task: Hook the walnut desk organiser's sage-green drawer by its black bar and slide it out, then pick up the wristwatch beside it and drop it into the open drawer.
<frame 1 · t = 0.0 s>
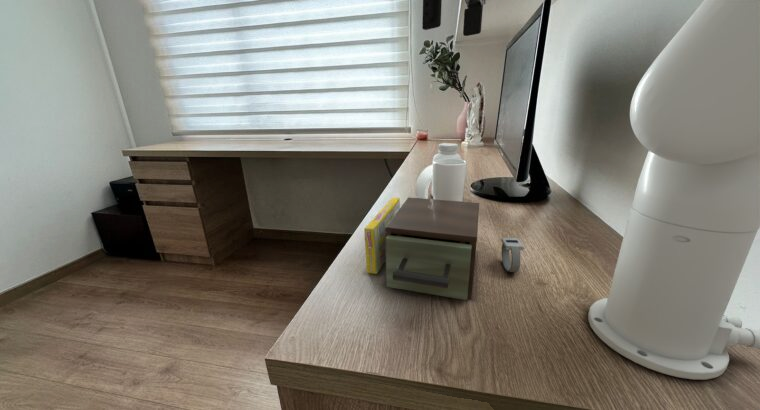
hand: (452, 31, 50), 37 cm above the table, tool pointing down, fingers open, 9 cm apart
drawer: (431, 254, 48), point 5 cm above the table, slide at 0.5 cm
cabinet: (434, 267, 54), on the table
wristwatch: (508, 270, 53), on the table
headphone stand: (429, 214, 79), on the table
pill bottle: (445, 197, 92), on the table
white tall cylinder: (446, 230, 69), on the table
candy box: (385, 252, 60), on the table
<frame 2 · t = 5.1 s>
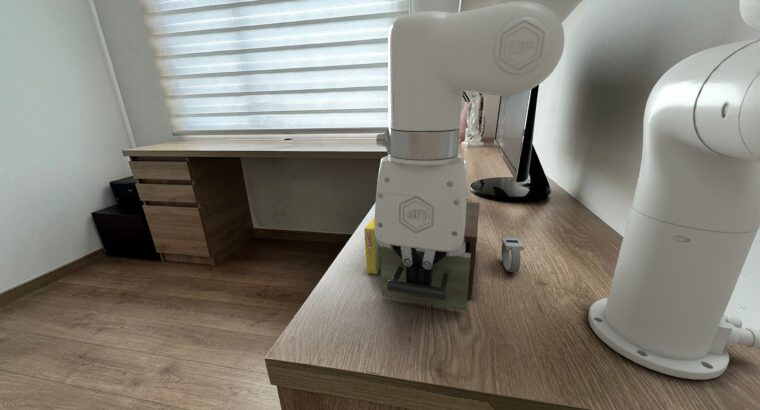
hand: (418, 290, 40), 4 cm above the table, tool pointing down, fingers closed
drawer: (428, 262, 46), point 5 cm above the table, slide at 3.0 cm, touching gripper
everything else where it was.
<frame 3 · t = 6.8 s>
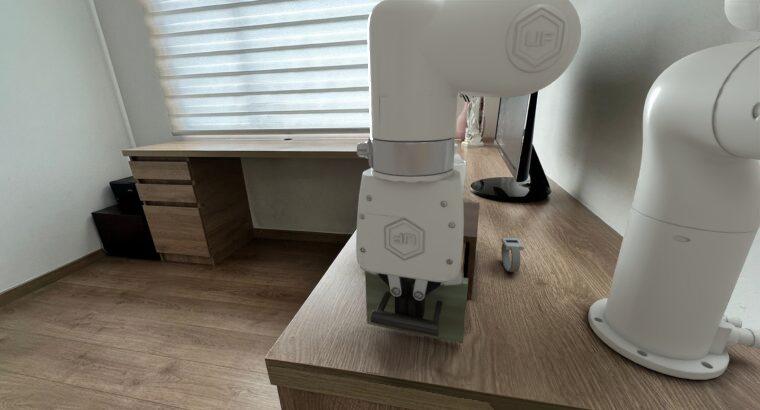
hand: (409, 321, 35), 4 cm above the table, tool pointing down, fingers closed
drawer: (420, 285, 40), point 5 cm above the table, slide at 9.0 cm
everything else where it was.
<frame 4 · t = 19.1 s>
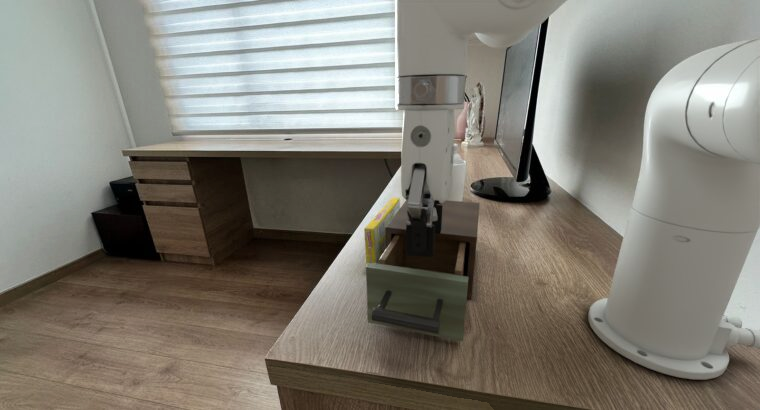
hand: (424, 241, 41), 10 cm above the table, tool pointing down, fingers closed on wristwatch, 6 cm apart
drawer: (420, 283, 41), point 5 cm above the table, slide at 8.7 cm
wristwatch: (424, 248, 41), point 9 cm above the table, touching gripper
everything else where it was.
when the fingers open (10 cm above the table, at t = 23.6 s): wristwatch drops 7 cm, resting on drawer.
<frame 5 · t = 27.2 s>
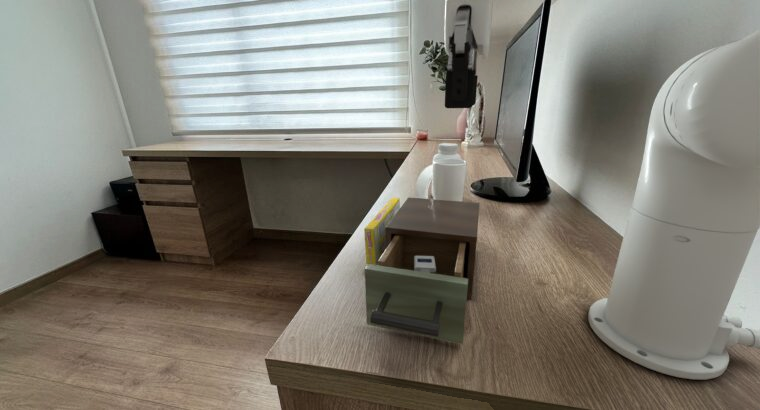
hand: (461, 106, 42), 26 cm above the table, tool pointing down, fingers open, 9 cm apart
drawer: (420, 285, 40), point 5 cm above the table, slide at 9.1 cm, touching wristwatch
wristwatch: (423, 295, 43), point 2 cm above the table, touching drawer
everything else where it was.
at the end: drawer slide at 9.1 cm; wristwatch inside the target area in the drawer (4.0 cm from its centre), point 1.9 cm above the cabinet's base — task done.
